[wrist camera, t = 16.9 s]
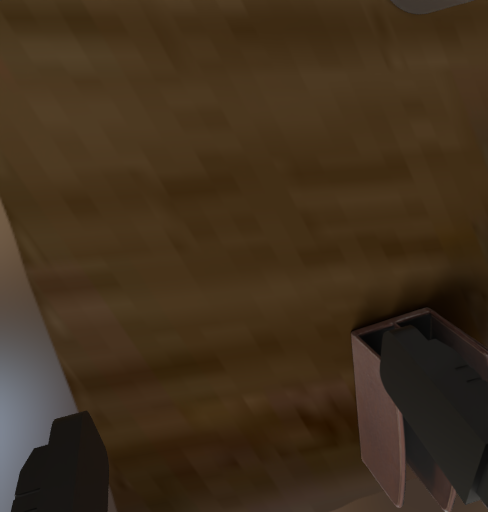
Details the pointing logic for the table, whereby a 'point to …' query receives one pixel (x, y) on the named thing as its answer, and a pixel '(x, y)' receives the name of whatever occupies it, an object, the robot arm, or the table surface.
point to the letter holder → (389, 416)
